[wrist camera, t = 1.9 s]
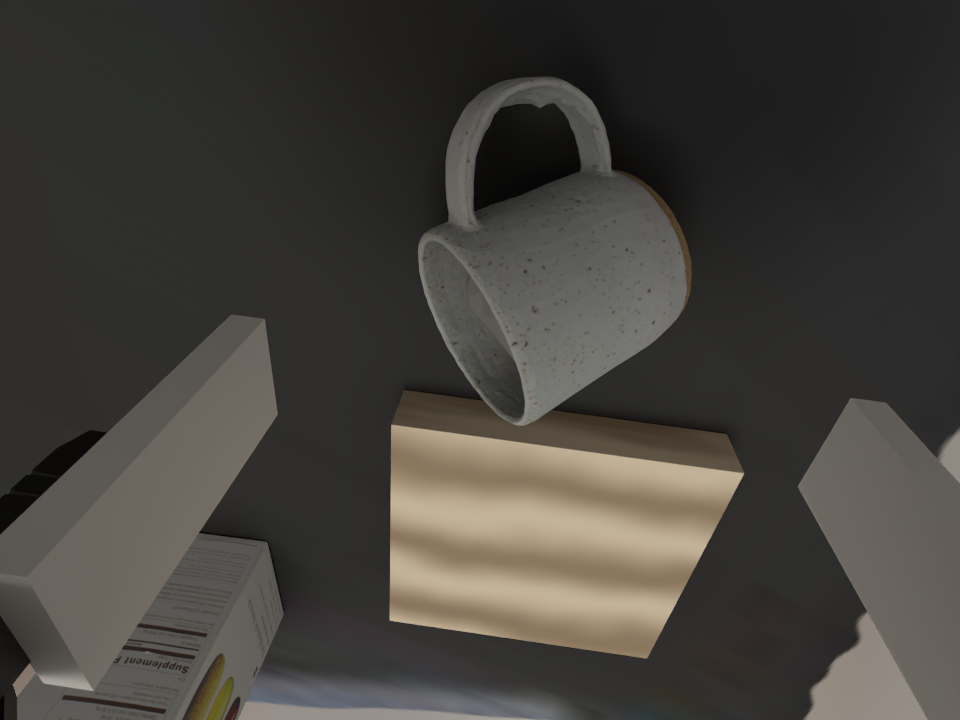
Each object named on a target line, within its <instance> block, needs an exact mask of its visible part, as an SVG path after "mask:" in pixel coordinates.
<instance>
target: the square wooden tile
mask: <svg viewBox="0 0 960 720" xmlns="http://www.w3.org/2000/svg"><path fill="white" fill-rule="evenodd" d="M743 475H744V472H743V470H742V467H741V465H740V463H739V461H738V458H737V456H736V454H735V452H734V449H733V447H732V445H731V443H730V440H729V438H728V436H727V434H723V433H715V432H708V431H701V430H693V429H686V428H679V427H671V426H664V425H657V424H649V423H642V422H635V421H628V420H620V419H613V418H606V417H598V416H591V415H584V414H576V413H569V412H562V411H554V410H550V411H549V412H547V413H546V414H544V415H543V416H542V417H540V418H539V419H537V420H536V421H534V422H531V423H529V424H527V425H523V426H519V425H515V424H512V423H510V422H508V421H507V420H505V419H503V418H502V417H500V416H499V415H497V414H496V413H495V412H494V411H493V409H492V408H491V407H490V406H489V405H488V404H487V403H486V402H485V401H481V400H474V399H467V398H459V397H452V396H445V395H437V394H430V393H423V392H416V391H408V390H404V391H403V394H402V396H401V399H400V402H399V405H398V408H397V410H396V413H395V416H394V419H393V422H392V424H391V530H390V621H396V622H403V623H410V624H417V625H423V626H430V627H437V628H444V629H451V630H457V631H464V632H471V633H478V634H484V635H491V636H498V637H505V638H512V639H518V640H525V641H532V642H539V643H546V644H552V645H559V646H566V647H573V648H579V649H586V650H593V651H600V652H607V653H613V654H620V655H627V656H634V657H641V658H647V657H648V655H649V654H650V652H651V650H652V648H653V646H654V644H655V642H656V640H657V638H658V636H659V635H660V633H661V631H662V629H663V627H664V625H665V623H666V621H667V619H668V617H669V616H670V614H671V612H672V610H673V608H674V606H675V604H676V602H677V600H678V598H679V597H680V595H681V593H682V591H683V589H684V587H685V585H686V583H687V581H688V579H689V578H690V576H691V574H692V572H693V570H694V568H695V566H696V564H697V562H698V560H699V558H700V557H701V555H702V553H703V551H704V549H705V547H706V545H707V543H708V541H709V539H710V538H711V536H712V534H713V532H714V530H715V528H716V526H717V524H718V522H719V520H720V519H721V517H722V515H723V513H724V511H725V509H726V507H727V505H728V503H729V501H730V500H731V498H732V496H733V494H734V492H735V490H736V488H737V486H738V484H739V482H740V480H741V479H742V477H743Z"/></svg>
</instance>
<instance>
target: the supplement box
mask: <svg viewBox="0 0 960 720" xmlns="http://www.w3.org/2000/svg"><path fill="white" fill-rule="evenodd" d="M282 617H283V608H282V604H281V600H280V596H279V591H278V586H277V582H276V578H275V573H274V569H273V564H272V560H271V555H270V551H269V547H268V543H267V542H265V541H257V540H250V539H242V538H234V537H226V536H218V535H210V534H203V533H198V535H197V536H196V538H195V539H194V541H193V542H192V544H191V545H190V547H189V548H188V550H187V551H186V553H185V554H184V556H183V557H182V559H181V560H180V562H179V563H178V565H177V566H176V568H175V569H174V571H173V572H172V574H171V575H170V577H169V578H168V580H167V581H166V583H165V584H164V586H163V587H162V589H161V590H160V592H159V593H158V595H157V596H156V598H155V599H154V601H153V602H152V604H151V605H150V607H149V609H148V610H147V612H146V613H145V615H144V616H143V618H142V619H141V621H140V622H139V624H138V625H137V627H136V628H135V630H134V631H133V633H132V634H131V636H130V637H129V639H128V640H127V642H126V643H125V645H124V646H123V648H122V649H121V651H120V652H119V654H118V655H117V657H116V658H115V660H114V661H113V663H112V664H111V666H110V667H109V669H108V670H107V672H106V673H105V675H104V676H103V678H102V679H101V681H100V682H99V684H98V685H97V687H96V688H95V690H94V691H89V690H83V689H76V688H70V687H63V686H57V685H50V684H44V683H43V682H42V680H41V679H40V678H39V676H38V675H37V673H36V674H35V675H34V676H33V678H32V679H31V680H30V681H29V683H28V684H27V685H26V686H25V688H24V689H23V690H22V692H21V693H20V694H19V695H18V697H17V720H238V718H239V716H240V714H241V711H242V709H243V706H244V704H245V702H246V700H247V697H248V695H249V693H250V690H251V688H252V686H253V684H254V681H255V679H256V677H257V674H258V672H259V670H260V667H261V665H262V663H263V661H264V658H265V656H266V654H267V651H268V649H269V647H270V644H271V642H272V640H273V637H274V635H275V633H276V631H277V628H278V626H279V624H280V621H281V619H282Z"/></svg>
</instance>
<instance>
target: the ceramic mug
mask: <svg viewBox="0 0 960 720" xmlns="http://www.w3.org/2000/svg"><path fill="white" fill-rule="evenodd" d="M551 103H555V104H556V105H557V106H558V107H559V108H560V109H561V110H562V112H563V113H564V114H565V115H566V117H567V119H568V121H569V123H570V127H571V129H572V130H573V132H574V134H575V138H576V143H577V146H578V149H579V156H580V162H581V170H580V172H577V173H574V174H571V175H569V176H567V177H564V178H561V179H559V180H556V181H553V182H550V183H548V184H546V185H543V186H541V187H539V188H537V189H534V190H532V191H530V192H527V193H525V194H523V195H520V196H517V197H514V198H511V199H507V200H505V201H502V202H499V203H496V204H493V205H490V206H488V207H485V208H482V209H480V210H477V211H474V205H473V199H474V172H475V161H476V155H477V152H478V149H479V146H480V143H481V141H482V138H483V136H484V133H485V131H486V130H487V129H488V127H489V126H490V124H491V121H492V118H493V116H494V114H495V113H496V112H497V111H498V110H499V108H501V107H506V106H511V105H515V104H533V105H535V106H537V107H539V108H541V107H543V106H544V105H547V104H551ZM445 164H446V198H447V205H448V211H449V217H448V222H446V223H443V224H441V225H438V226H436V227H434V228H432V229H430V230H428V231H427V232H425V233H424V235H423V236H422V237H421V239H420V242H419V246H418V259H419V272H420V276H421V280H422V284H423V288H424V293H425V296H426V298H427V301H428V304H429V307H430V309H431V311H432V314H433V316H434V319H435V321H436V324H437V326H438V328H439V330H440V332H441V334H442V337H443V339H444V341H445V343H446V345H447V347H448V349H449V350H450V352H451V353H452V355H453V356H454V358H455V360H456V362H457V364H458V366H459V367H460V368H461V370H462V371H463V372H464V374H465V376H466V378H467V379H468V380H469V381H470V383H471V384H472V386H473V387H474V388H475V389H476V391H477V392H478V393H479V394H480V396H481V397H482V398H483V400H484V401H485V402H486V403H487V404H488V405H489V406H490V407H491V408H492V409H493V411H494V412H495V413H496V414H497V415H499V416H500V417H502V418H503V419H505V420H507V421H508V422H510V423H512V424H515V425H519V426H523V425H527V424H529V423H531V422H534V421H536V420H537V419H539V418H540V417H542V416H543V415H544V414H546V413H547V412H549V411H550V410H552V409H553V408H554V407H556V406H557V405H559V404H560V403H562V402H563V401H565V400H566V399H567V398H569V397H570V396H572V395H573V394H575V393H576V392H578V391H579V390H581V389H582V388H584V387H585V386H587V385H588V384H590V383H591V382H593V381H594V380H596V379H597V378H599V377H600V376H602V375H603V374H605V373H606V372H608V371H609V370H611V369H612V368H614V367H615V366H617V365H619V364H620V363H622V362H624V361H625V360H627V359H628V358H630V357H632V356H633V355H635V354H636V353H638V352H639V351H641V350H642V349H644V348H645V347H647V346H648V345H650V344H651V343H652V342H653V341H655V340H656V339H657V338H658V337H659V336H660V335H661V334H662V333H664V332H665V331H666V330H667V329H668V328H669V327H670V326H671V325H672V324H673V323H674V322H675V320H676V319H677V318H678V317H679V315H680V314H681V313H682V311H683V310H684V308H685V306H686V303H687V300H688V297H689V294H690V289H691V275H692V274H691V259H690V255H689V250H688V246H687V243H686V240H685V237H684V235H683V232H682V229H681V227H680V226H679V224H678V222H677V220H676V218H675V216H674V214H673V212H672V211H671V210H670V208H669V207H668V205H667V204H666V203H665V201H664V200H663V199H662V198H661V197H660V196H659V195H658V194H657V193H656V192H655V191H654V190H653V189H652V188H651V187H649V186H648V185H647V184H645V183H644V182H643V181H641V180H640V179H638V178H636V177H635V176H633V175H630V174H628V173H626V172H623V171H620V170H611V154H610V146H609V141H608V138H607V133H606V129H605V125H604V123H603V121H602V119H601V117H600V115H599V113H598V110H597V108H596V107H595V105H594V104H593V102H592V100H590V99H589V98H588V97H587V96H586V95H585V94H584V93H583V92H582V91H580V90H579V89H578V88H576V87H574V86H573V85H571V84H569V83H568V82H566V81H564V80H561V79H559V78H555V77H521V78H515V79H510V80H505V81H502V82H499V83H497V84H495V85H493V86H491V87H489V88H487V89H485V90H483V91H481V92H480V93H479V94H478V95H477V96H476V97H475V98H474V99H473V100H472V101H471V102H470V103H469V104H468V105H467V106H466V107H465V109H464V110H463V112H462V114H461V116H460V118H459V120H458V121H457V123H456V125H455V127H454V129H453V131H452V134H451V137H450V141H449V144H448V148H447V154H446V163H445Z"/></svg>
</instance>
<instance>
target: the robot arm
mask: <svg viewBox="0 0 960 720" xmlns="http://www.w3.org/2000/svg"><path fill="white" fill-rule="evenodd" d="M277 415H278V414H277V406H276V399H275V392H274V384H273V377H272V370H271V362H270V355H269V348H268V340H267V333H266V326H265V319H259V318H252V317H245V316H237V315H231V316H229V317H228V318H227V319H226V320H225V321H224V322H223V323H222V324H221V325H220V326H219V327H218V328H217V329H216V330H215V331H214V332H213V333H212V334H211V335H210V336H208V337H207V338H206V339H205V340H204V341H203V342H202V343H201V344H200V345H199V346H198V347H197V348H196V349H195V350H194V351H193V352H192V353H191V354H190V355H189V356H187V357H186V358H185V359H184V360H183V361H182V362H181V363H180V364H179V365H178V366H177V367H176V368H175V369H174V370H173V371H172V372H171V373H170V374H169V375H167V376H166V377H165V378H164V379H163V380H162V381H161V382H160V383H159V384H158V385H157V386H156V387H155V388H154V389H153V390H152V391H151V392H150V393H149V394H148V395H146V396H145V397H144V398H143V399H142V400H141V401H140V402H139V403H138V404H137V405H136V406H135V407H134V408H133V409H132V410H131V411H130V412H129V413H128V414H127V415H125V416H124V417H123V418H122V419H121V420H120V421H119V422H118V423H117V424H116V425H115V426H114V427H113V428H112V429H111V430H110V431H109V432H108V433H106V432H99V431H92V430H90V431H88V432H86V433H84V434H82V435H80V436H79V437H77V438H75V439H73V440H71V441H69V442H67V443H66V444H64V445H62V446H60V447H58V448H57V449H56V450H54V451H53V452H52V453H51V454H50V455H49V456H48V457H46V458H45V459H44V460H43V461H42V462H41V463H40V464H39V465H37V466H36V467H35V468H34V469H33V470H32V474H31V475H26V476H25V477H24V478H23V479H22V480H20V481H19V482H18V483H17V484H16V485H15V486H14V487H13V488H11V492H10V493H9V494H8V495H7V494H5V495H4V496H2V497H1V498H0V720H17V697H16V694H15V690H14V687H13V685H12V684H13V683H14V682H15V681H16V679H17V678H18V677H19V676H20V674H21V673H22V672H23V670H24V669H25V668H26V667H27V665H28V664H29V663H30V664H31V666H32V667H33V669H34V670H35V672H36V673H37V675H38V676H39V678H40V679H41V680H42V682H43V683H44V684H50V685H57V686H63V687H70V688H76V689H83V690H89V691H94V690H95V688H96V687H97V685H98V684H99V682H100V681H101V679H102V678H103V676H104V675H105V673H106V672H107V670H108V669H109V667H110V666H111V664H112V663H113V661H114V660H115V658H116V657H117V655H118V654H119V652H120V651H121V649H122V648H123V646H124V645H125V643H126V642H127V640H128V639H129V637H130V636H131V634H132V633H133V631H134V630H135V628H136V627H137V625H138V624H139V622H140V621H141V619H142V618H143V616H144V615H145V613H146V612H147V610H148V609H149V607H150V605H151V604H152V602H153V601H154V599H155V598H156V596H157V595H158V593H159V592H160V590H161V589H162V587H163V586H164V584H165V583H166V581H167V580H168V578H169V577H170V575H171V574H172V572H173V571H174V569H175V568H176V566H177V565H178V563H179V562H180V560H181V559H182V557H183V556H184V554H185V553H186V551H187V550H188V548H189V547H190V545H191V544H192V542H193V541H194V539H195V538H196V536H197V535H198V533H199V532H200V530H201V529H202V527H203V526H204V524H205V523H206V521H207V520H208V518H209V517H210V515H211V514H212V512H213V511H214V509H215V508H216V506H217V505H218V503H219V502H220V500H221V499H222V497H223V496H224V494H225V493H226V491H227V490H228V488H229V487H230V485H231V484H232V482H233V481H234V479H235V478H236V476H237V475H238V473H239V472H240V470H241V469H242V467H243V466H244V464H245V463H246V461H247V460H248V458H249V457H250V455H251V454H252V452H253V451H254V449H255V448H256V446H257V445H258V443H259V442H260V440H261V439H262V437H263V436H264V434H265V433H266V431H267V430H268V428H269V427H270V425H271V424H272V422H273V421H274V419H275V418H276V416H277ZM798 488H799V490H800V492H801V493H802V495H803V497H804V499H805V501H806V502H807V504H808V506H809V508H810V510H811V511H812V513H813V515H814V517H815V519H816V520H817V522H818V524H819V526H820V528H821V529H822V531H823V533H824V535H825V536H826V538H827V540H828V542H829V544H830V545H831V547H832V549H833V551H834V553H835V554H836V556H837V558H838V560H839V562H840V563H841V565H842V567H843V569H844V571H845V572H846V574H847V576H848V578H849V579H850V581H851V583H852V585H853V587H854V588H855V590H856V592H857V594H858V596H859V597H860V599H861V601H862V603H863V605H864V606H865V608H866V610H867V612H868V614H869V615H870V617H871V619H872V621H873V622H874V624H875V626H876V628H877V630H878V631H879V633H880V635H881V637H882V638H883V640H884V642H885V644H886V646H887V648H888V649H889V651H890V653H891V655H892V656H893V658H894V660H895V662H896V664H897V666H898V667H899V669H900V671H901V672H902V674H903V676H904V678H905V680H906V682H907V683H908V685H909V687H910V689H911V690H912V692H913V694H914V696H915V698H916V699H917V701H918V703H919V705H920V706H921V708H922V710H923V712H924V714H925V716H926V717H927V719H928V720H960V483H959V482H958V481H957V480H956V479H955V478H954V477H953V476H952V475H951V473H950V472H949V471H948V470H947V469H946V468H945V467H944V466H943V465H942V464H941V463H940V461H939V460H938V459H937V458H936V457H935V456H934V455H933V454H932V453H931V452H930V450H929V449H928V448H927V447H926V446H925V445H924V444H923V443H922V442H921V441H920V439H919V438H918V437H917V436H916V435H915V434H914V433H913V432H912V431H911V430H910V429H909V427H908V426H907V425H906V424H905V423H904V422H903V421H902V420H901V419H900V418H899V416H898V415H897V414H896V413H895V412H894V411H893V410H892V409H891V408H890V407H889V406H888V404H887V403H884V402H876V401H869V400H861V399H854V398H851V399H850V400H849V402H848V404H847V405H846V407H845V409H844V410H843V412H842V414H841V415H840V417H839V419H838V420H837V422H836V424H835V425H834V427H833V429H832V430H831V432H830V434H829V435H828V437H827V439H826V440H825V442H824V444H823V445H822V447H821V449H820V450H819V452H818V454H817V455H816V457H815V459H814V460H813V462H812V464H811V465H810V467H809V469H808V470H807V472H806V474H805V475H804V477H803V479H802V480H801V482H800V484H799V485H798Z"/></svg>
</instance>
